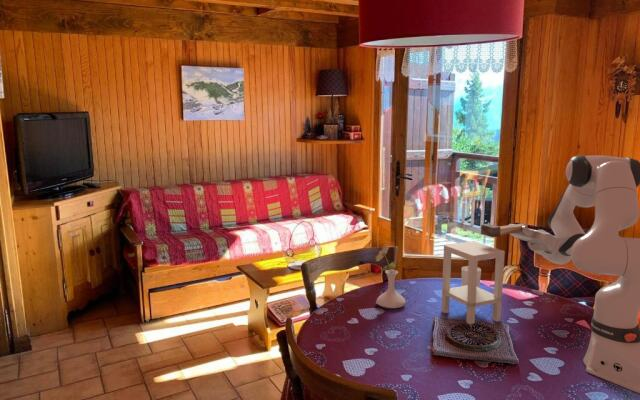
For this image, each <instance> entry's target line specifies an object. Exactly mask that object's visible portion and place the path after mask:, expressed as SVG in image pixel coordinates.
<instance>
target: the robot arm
mask: <svg viewBox="0 0 640 400" xmlns="http://www.w3.org/2000/svg"><path fill="white" fill-rule="evenodd" d="M565 177H566V181H567V183H568V185H567V186H566V187H565V189H564V190H563V192H562V194H561V196H560V198H559V201H558V203H557V205H556V207H555V209H554V210H553V211H552V212H551V213H550V215H549V216H548V219H547V226H548V227H549V228H550V230H552V232H553V233H554V235H553V234H551V233H549V232H547V231H546V230H544V229H537V230H536V229H532V228H526V227H523V226H522V227H521V231H522V232H519V233H512V234H510V235H511V236H512V237H514V238H517V239H519V240H521V241H525V242H527V246H528V248H529V250H532V251H533V252H534V253H536V254H537V255H540V256H542V257H543V258H544V259H545V260H547V261H549V262H551V263H553V264H557V265H565V264H568V263H569V262H571V261H572V263H573V265H574V267H576V268H577V270H579V271H582V272H586V273H590V274H594V275H603V276H615V277H616V276H618V279H616V280H615V281H614V282H612V283H611V284H608V285H605V286H603V287H601V288H600V289H599V290H598V291H597V292H596V293H595V297H594V305H593V306H594V307H593V310H594V311H593V316H592V317H591V321H590V330H591V334H590V339H589V344H588V345H587V346H588V347H587V350H586V353H585V354H584V356H583V359H582V361H583V362H582V363H584V365H585V367H586V368H585V371H586V372H587V373H589V374H591V375H593V376H595V377H598V378H601V379H603V380H605V381H608V382H610V383H612V384H615V385H617V386H621V387H622V388H625V389H627V390H630V391H632V392H636V393H638V394H640V325H639V322H638V321H639V315H640V238H638V237H622V236H620V235H619V232H620V231H623V230H625V229H628V228H630V227H632V226H634V225H636V223H637V222H638V221H639V218H640V207H639V199H638V191H637V188H638V187H639V186H640V161H639V160H638V159H635V158H631V157H620V156H619V157H618V156H610V155H609V156H608V155H599V154H597V155H595V154H594V155H584V154H582V155H576V156H573V157H571V158H570V159H569V160H568V162H567V165H566V168H565ZM576 206H577V207H579V208H592V207H594V221H593V223H592V225H591V227H590V229H589V230H588V231H587V232H585V231H584V229H583V228H582V226H581V225H580V223H579V221H578V220H577V218H576V216H575V214H574V210H575V207H576ZM515 224H516V223H514V224H512V223H509V224H508V225H515Z"/></svg>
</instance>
